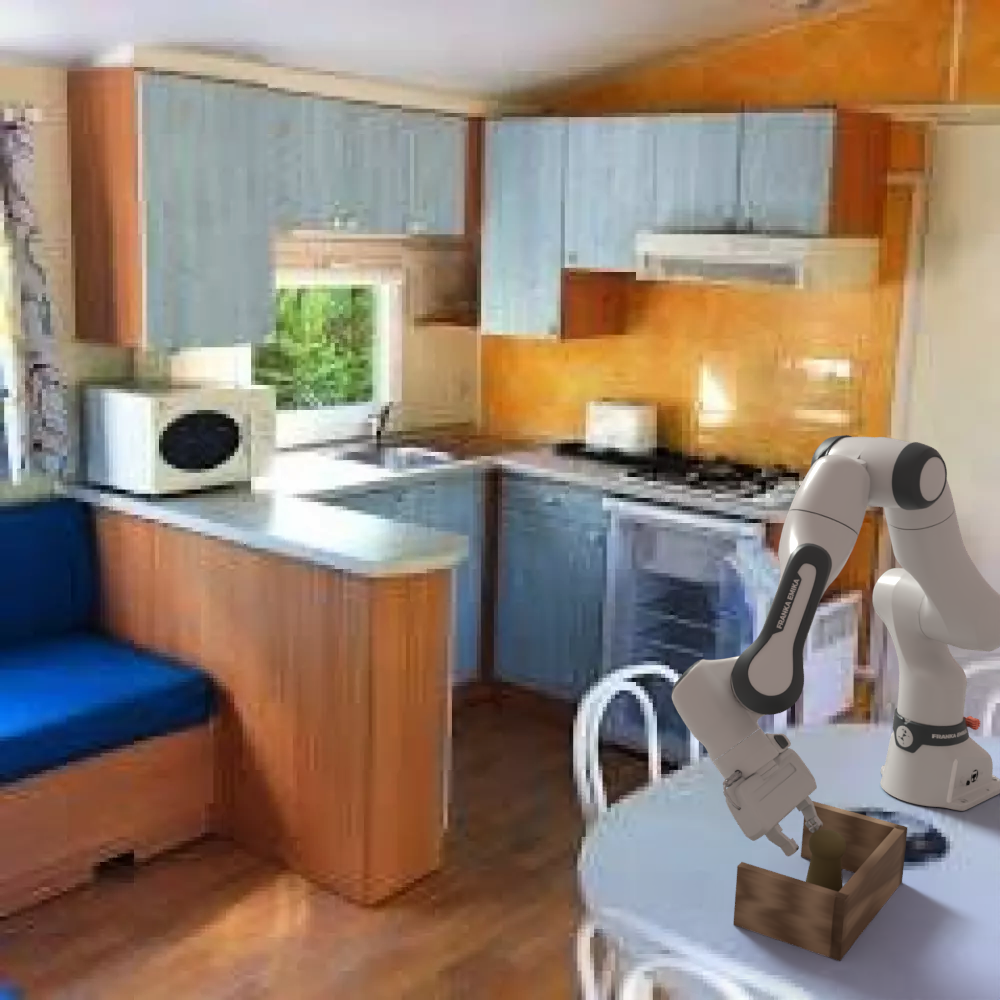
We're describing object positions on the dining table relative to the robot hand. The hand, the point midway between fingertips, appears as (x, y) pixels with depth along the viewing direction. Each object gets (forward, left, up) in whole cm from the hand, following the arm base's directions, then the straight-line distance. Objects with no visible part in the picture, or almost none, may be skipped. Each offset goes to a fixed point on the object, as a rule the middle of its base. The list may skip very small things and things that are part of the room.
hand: (806, 841), depth 188 cm
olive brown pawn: (-1, +3, -9) cm, 10 cm away
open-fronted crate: (-1, +3, -9) cm, 9 cm away
